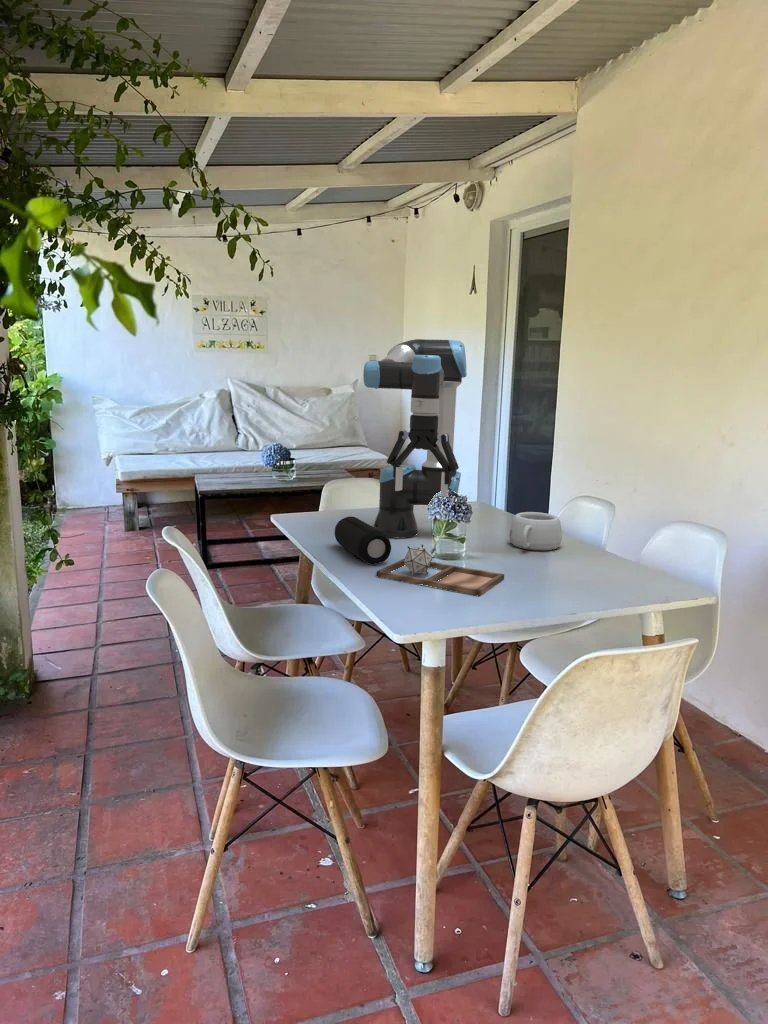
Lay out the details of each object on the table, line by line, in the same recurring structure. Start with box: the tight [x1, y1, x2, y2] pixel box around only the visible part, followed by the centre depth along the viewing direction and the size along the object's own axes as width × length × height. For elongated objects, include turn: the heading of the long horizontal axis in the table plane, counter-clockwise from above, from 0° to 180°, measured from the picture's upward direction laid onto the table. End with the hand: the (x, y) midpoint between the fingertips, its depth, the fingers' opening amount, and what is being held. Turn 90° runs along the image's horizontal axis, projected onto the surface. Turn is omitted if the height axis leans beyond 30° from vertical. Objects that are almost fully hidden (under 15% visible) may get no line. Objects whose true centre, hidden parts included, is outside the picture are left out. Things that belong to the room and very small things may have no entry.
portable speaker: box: [334, 516, 392, 565], centre depth 225 cm, size 26×10×10 cm, turn 23°
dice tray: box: [375, 557, 505, 597], centre depth 205 cm, size 30×18×2 cm, turn 61°
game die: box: [401, 544, 436, 577], centre depth 207 cm, size 9×8×10 cm
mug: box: [509, 511, 563, 551], centre depth 242 cm, size 21×17×10 cm
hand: (420, 493), depth 204 cm, fingers open, 13 cm apart
